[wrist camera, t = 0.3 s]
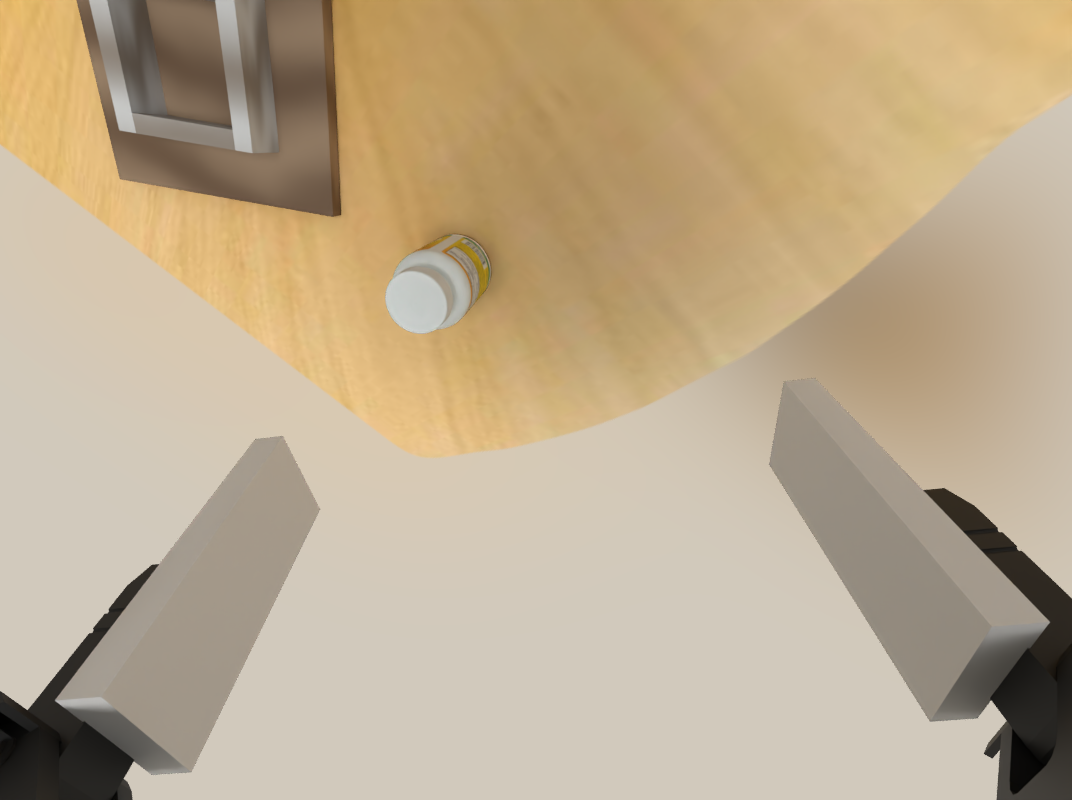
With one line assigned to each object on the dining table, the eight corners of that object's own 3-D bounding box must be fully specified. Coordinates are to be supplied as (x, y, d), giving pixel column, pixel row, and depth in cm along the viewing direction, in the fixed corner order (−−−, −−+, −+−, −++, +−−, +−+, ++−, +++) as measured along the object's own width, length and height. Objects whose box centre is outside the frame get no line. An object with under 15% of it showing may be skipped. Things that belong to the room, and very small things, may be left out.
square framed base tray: (65, -118, 31) (-10, -153, 27) (327, -79, 30) (287, -111, 26) (133, 177, 39) (83, 181, 35) (340, 214, 38) (312, 222, 34)
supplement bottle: (496, 240, 37) (463, 269, 29) (487, 307, 40) (455, 352, 31) (427, 226, 37) (374, 251, 29) (423, 294, 40) (374, 335, 32)
